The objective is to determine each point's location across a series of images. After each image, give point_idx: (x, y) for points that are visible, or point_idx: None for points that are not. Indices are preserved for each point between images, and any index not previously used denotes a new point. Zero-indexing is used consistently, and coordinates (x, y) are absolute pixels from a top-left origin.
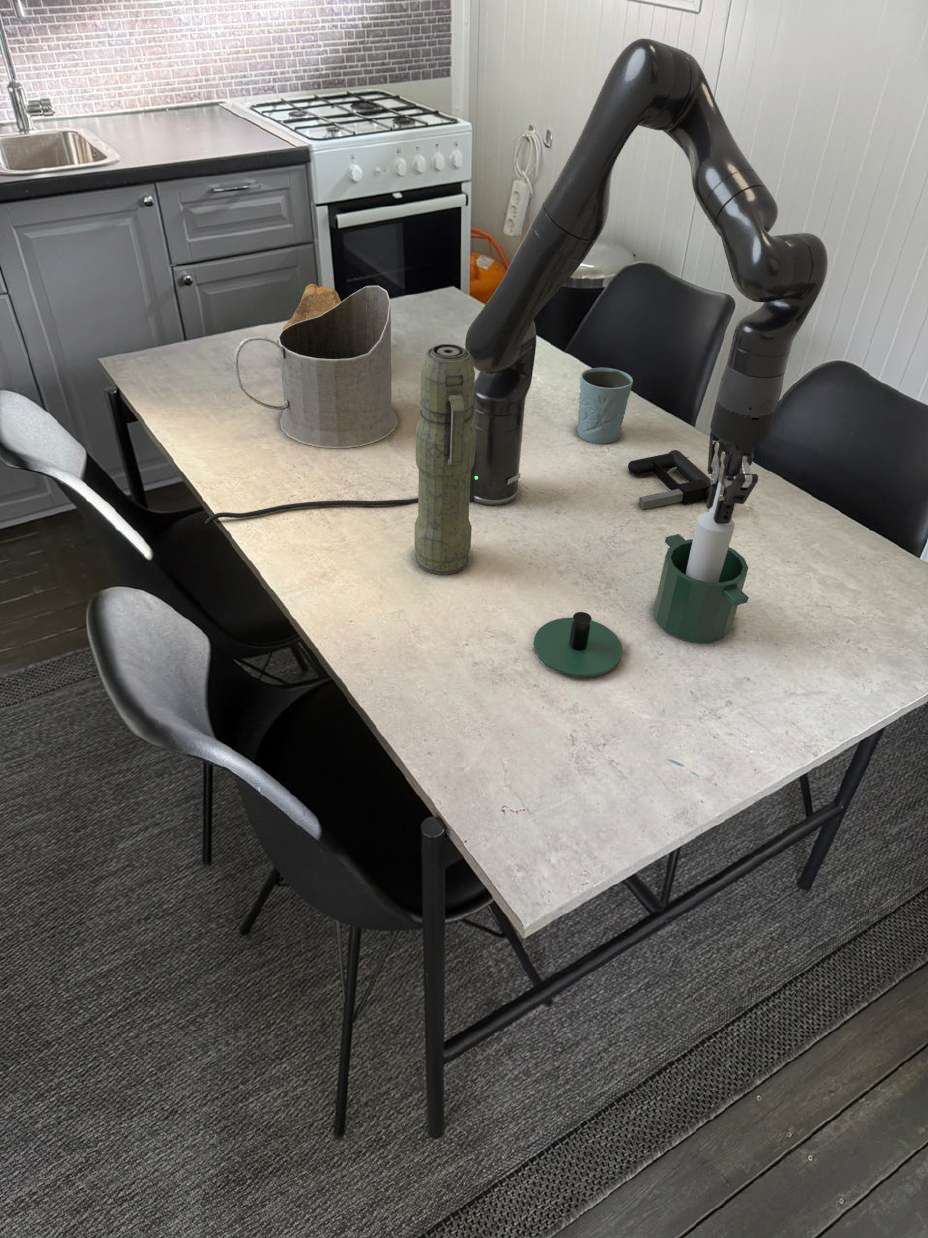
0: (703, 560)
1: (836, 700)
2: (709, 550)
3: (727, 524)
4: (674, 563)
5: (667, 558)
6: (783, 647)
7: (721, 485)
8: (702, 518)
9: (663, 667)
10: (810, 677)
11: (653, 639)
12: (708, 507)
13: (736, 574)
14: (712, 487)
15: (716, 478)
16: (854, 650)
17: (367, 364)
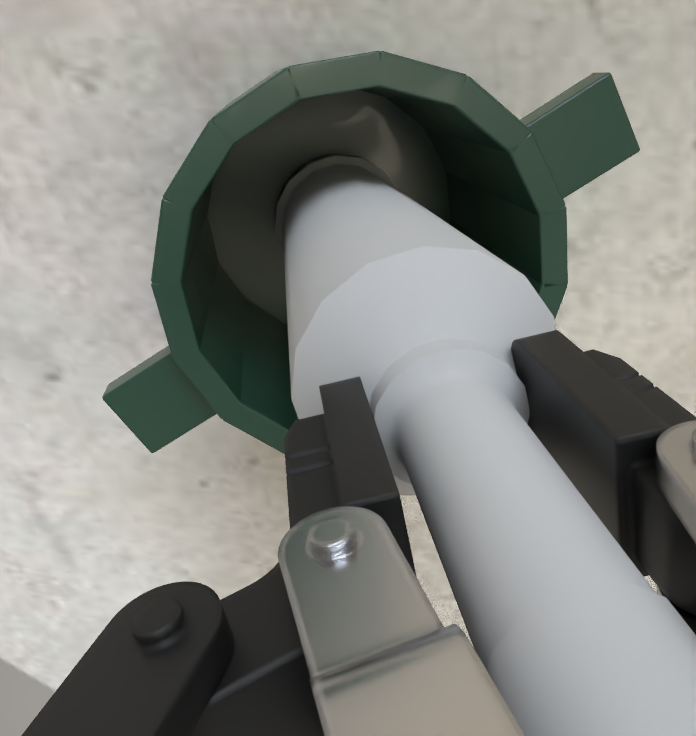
0: (292, 268)
1: (46, 587)
2: (290, 309)
3: None
4: (457, 128)
5: (360, 63)
6: (243, 480)
7: (422, 618)
8: (422, 286)
9: (9, 91)
10: (124, 536)
11: (170, 56)
12: (519, 345)
13: None
14: (627, 433)
15: (691, 526)
16: None
17: None
